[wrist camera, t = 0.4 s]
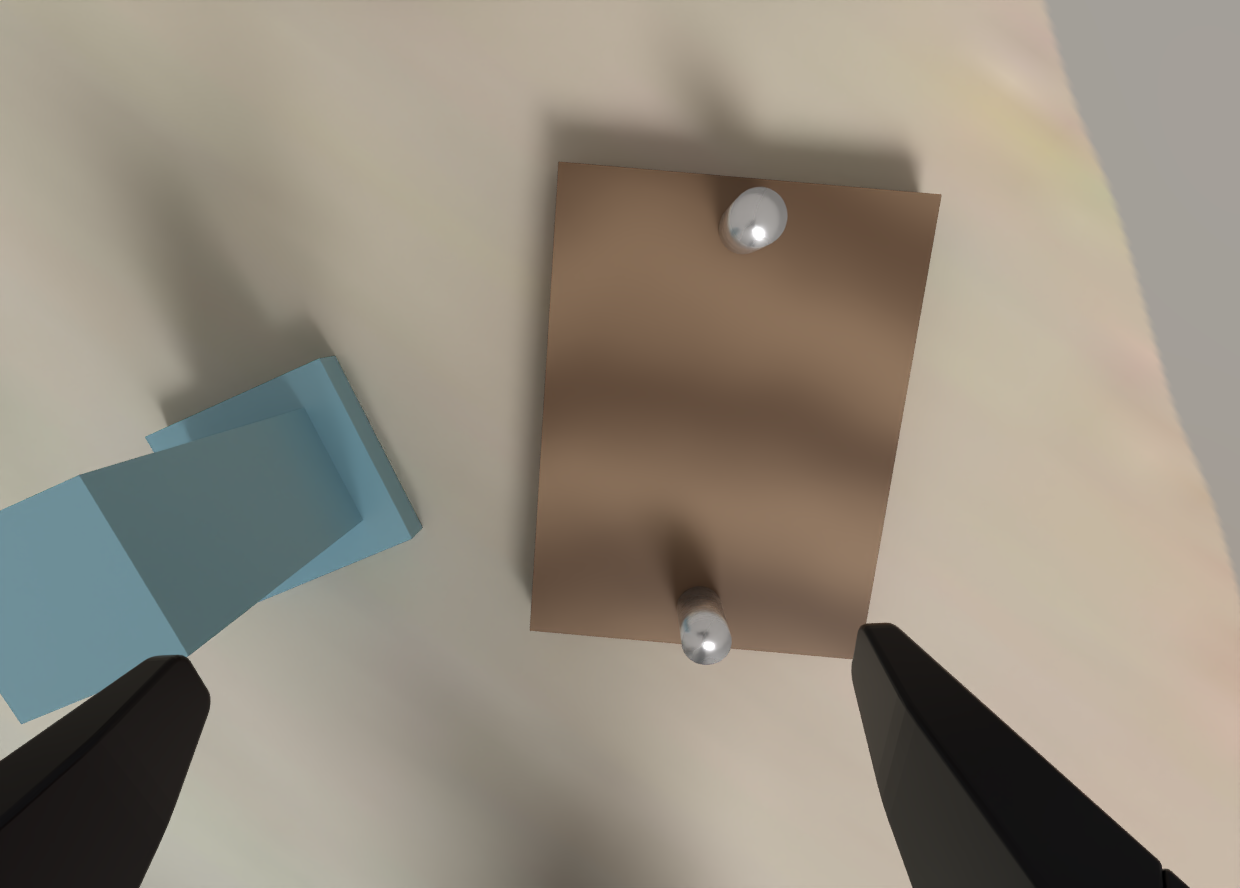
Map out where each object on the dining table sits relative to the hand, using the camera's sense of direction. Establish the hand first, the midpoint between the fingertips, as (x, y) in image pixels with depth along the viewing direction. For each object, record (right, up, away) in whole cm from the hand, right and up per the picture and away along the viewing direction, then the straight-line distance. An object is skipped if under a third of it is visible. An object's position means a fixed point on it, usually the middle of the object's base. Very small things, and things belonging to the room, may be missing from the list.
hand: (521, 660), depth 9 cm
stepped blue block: (-11, +2, +15) cm, 19 cm away
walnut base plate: (+5, +4, +15) cm, 16 cm away
